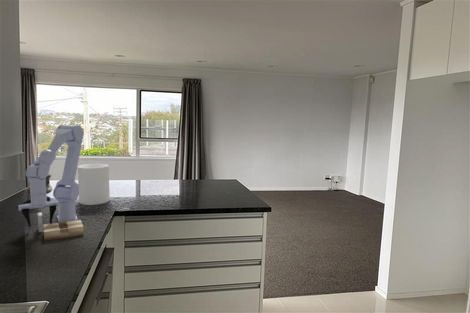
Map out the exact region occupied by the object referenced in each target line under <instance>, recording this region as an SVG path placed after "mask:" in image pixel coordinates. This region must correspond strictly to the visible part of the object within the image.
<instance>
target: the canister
mask: <svg viewBox="0 0 470 313" xmlns="http://www.w3.org/2000/svg"><path fill="white" fill-rule="evenodd" d="M109 166H110V165H109V164H105V163H87V164H81V165H78V166H77V183H78V185H79V196H78V203H79V204H80V205H86V206H88V205H90V206H97V205H100V204H101V205H102V204H105V203H108V202H109V201H111V199H110V197H111V196H110V174H109V173H110V170H109V169H110V167H109Z"/></svg>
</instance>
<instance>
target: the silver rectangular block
mask: <svg viewBox="0 0 470 313" xmlns="http://www.w3.org/2000/svg"><path fill="white" fill-rule="evenodd" d="M43 223H44V222H43V213H42V211H41V212H37V226H38V233H42V232H43V233H44V229H43V225H44V224H43Z"/></svg>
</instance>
